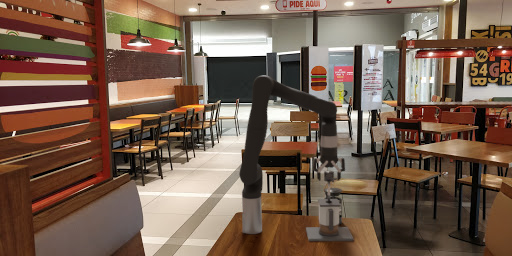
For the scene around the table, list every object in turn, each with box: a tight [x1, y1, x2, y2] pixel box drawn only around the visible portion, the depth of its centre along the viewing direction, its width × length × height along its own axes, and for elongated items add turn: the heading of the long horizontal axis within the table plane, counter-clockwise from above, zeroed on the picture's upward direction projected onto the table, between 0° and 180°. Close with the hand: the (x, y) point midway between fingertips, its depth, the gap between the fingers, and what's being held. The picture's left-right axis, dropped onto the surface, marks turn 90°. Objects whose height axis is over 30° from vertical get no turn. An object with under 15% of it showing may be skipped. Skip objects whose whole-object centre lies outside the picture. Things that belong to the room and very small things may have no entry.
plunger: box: [323, 170, 335, 203], centre depth 186 cm, size 4×4×15 cm
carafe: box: [317, 198, 341, 237], centre depth 186 cm, size 9×12×15 cm
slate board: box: [305, 226, 354, 242], centre depth 189 cm, size 20×14×1 cm
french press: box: [323, 177, 343, 226], centre depth 204 cm, size 12×9×23 cm
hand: (328, 180), depth 186 cm, fingers open, 8 cm apart
